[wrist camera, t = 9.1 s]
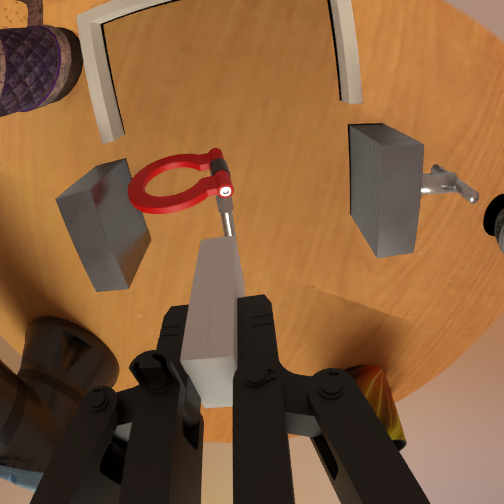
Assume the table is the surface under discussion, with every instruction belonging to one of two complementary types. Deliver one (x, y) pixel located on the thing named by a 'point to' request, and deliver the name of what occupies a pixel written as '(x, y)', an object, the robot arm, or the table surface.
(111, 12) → the corral
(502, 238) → the chess piece
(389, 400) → the mug
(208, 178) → the tow hook
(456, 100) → the table surface
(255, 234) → the table surface
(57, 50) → the mug
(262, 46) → the table surface
